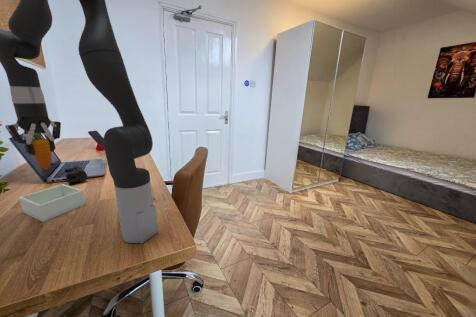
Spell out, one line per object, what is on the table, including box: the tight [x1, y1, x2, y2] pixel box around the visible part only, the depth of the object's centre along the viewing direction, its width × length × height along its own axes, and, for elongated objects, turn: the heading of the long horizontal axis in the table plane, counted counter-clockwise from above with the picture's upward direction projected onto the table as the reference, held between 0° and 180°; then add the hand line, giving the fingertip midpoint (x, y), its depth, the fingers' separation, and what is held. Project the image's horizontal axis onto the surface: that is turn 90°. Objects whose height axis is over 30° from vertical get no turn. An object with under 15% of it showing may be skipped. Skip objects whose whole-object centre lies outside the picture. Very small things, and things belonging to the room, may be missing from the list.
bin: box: [18, 183, 86, 223], centre depth 77 cm, size 13×13×6 cm
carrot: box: [31, 132, 52, 171], centre depth 72 cm, size 5×5×15 cm
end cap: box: [64, 165, 88, 187], centre depth 102 cm, size 10×7×7 cm
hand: (42, 152), depth 72 cm, fingers closed on carrot, 5 cm apart
